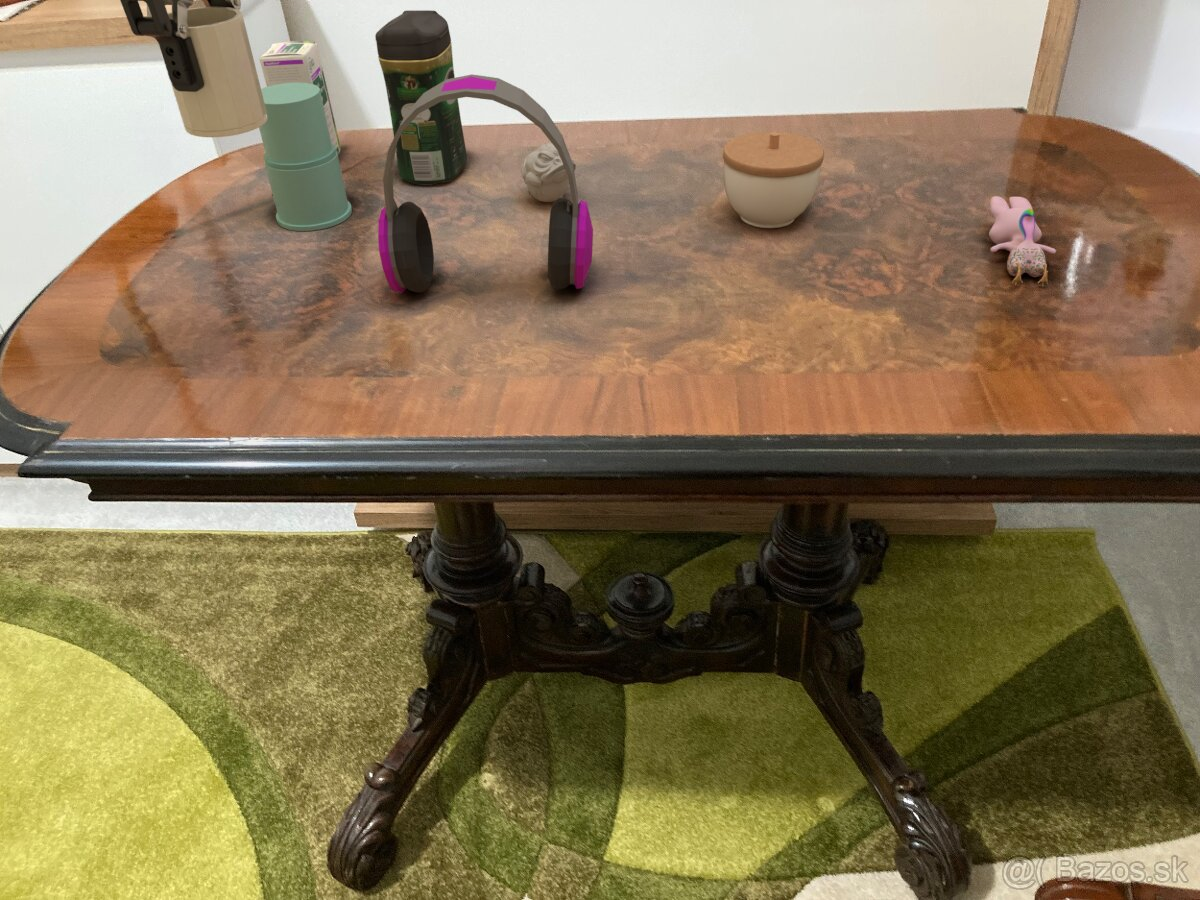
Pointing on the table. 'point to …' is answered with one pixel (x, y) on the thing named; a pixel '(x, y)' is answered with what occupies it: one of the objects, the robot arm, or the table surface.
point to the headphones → (408, 228)
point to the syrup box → (299, 73)
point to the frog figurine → (545, 174)
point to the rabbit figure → (1018, 237)
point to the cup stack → (302, 159)
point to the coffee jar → (410, 68)
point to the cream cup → (221, 76)
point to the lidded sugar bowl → (771, 176)
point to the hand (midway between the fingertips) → (213, 74)
